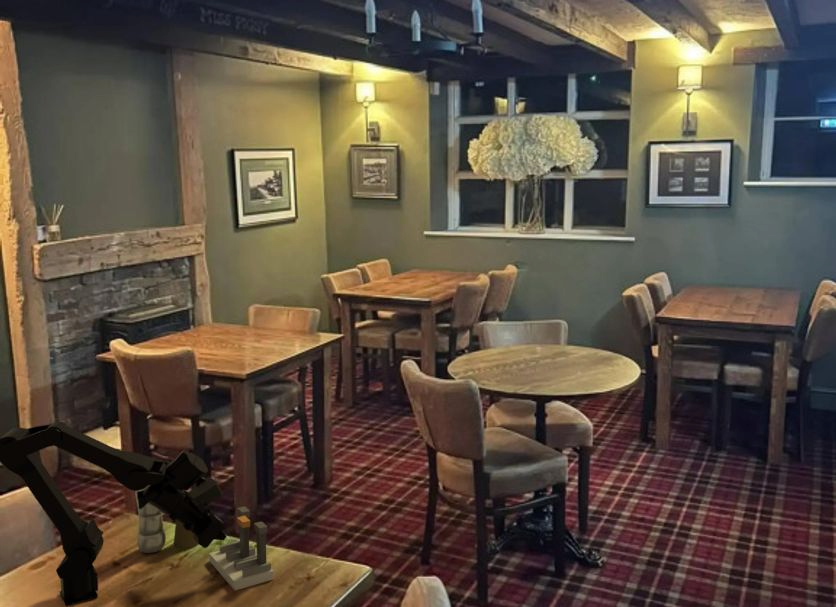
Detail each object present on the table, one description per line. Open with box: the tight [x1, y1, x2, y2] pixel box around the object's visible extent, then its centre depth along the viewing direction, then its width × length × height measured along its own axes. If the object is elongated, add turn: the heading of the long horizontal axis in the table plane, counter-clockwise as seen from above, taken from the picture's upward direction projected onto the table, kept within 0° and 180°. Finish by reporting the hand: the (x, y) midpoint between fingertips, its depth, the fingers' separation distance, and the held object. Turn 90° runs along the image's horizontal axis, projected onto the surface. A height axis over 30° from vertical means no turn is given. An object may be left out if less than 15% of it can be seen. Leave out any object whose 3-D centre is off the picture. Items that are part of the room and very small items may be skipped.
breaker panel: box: [208, 540, 275, 591], centre depth 182 cm, size 9×16×4 cm, turn 34°
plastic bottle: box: [134, 485, 167, 554], centre depth 190 cm, size 6×7×20 cm
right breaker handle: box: [253, 521, 269, 565], centre depth 178 cm, size 2×3×10 cm, turn 34°
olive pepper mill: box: [173, 521, 199, 550], centre depth 194 cm, size 6×6×11 cm
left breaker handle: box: [237, 506, 251, 528], centre depth 187 cm, size 2×3×10 cm, turn 34°
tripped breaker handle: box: [236, 516, 251, 559], centre depth 181 cm, size 2×3×10 cm, turn 34°
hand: (224, 537), depth 179 cm, fingers closed
